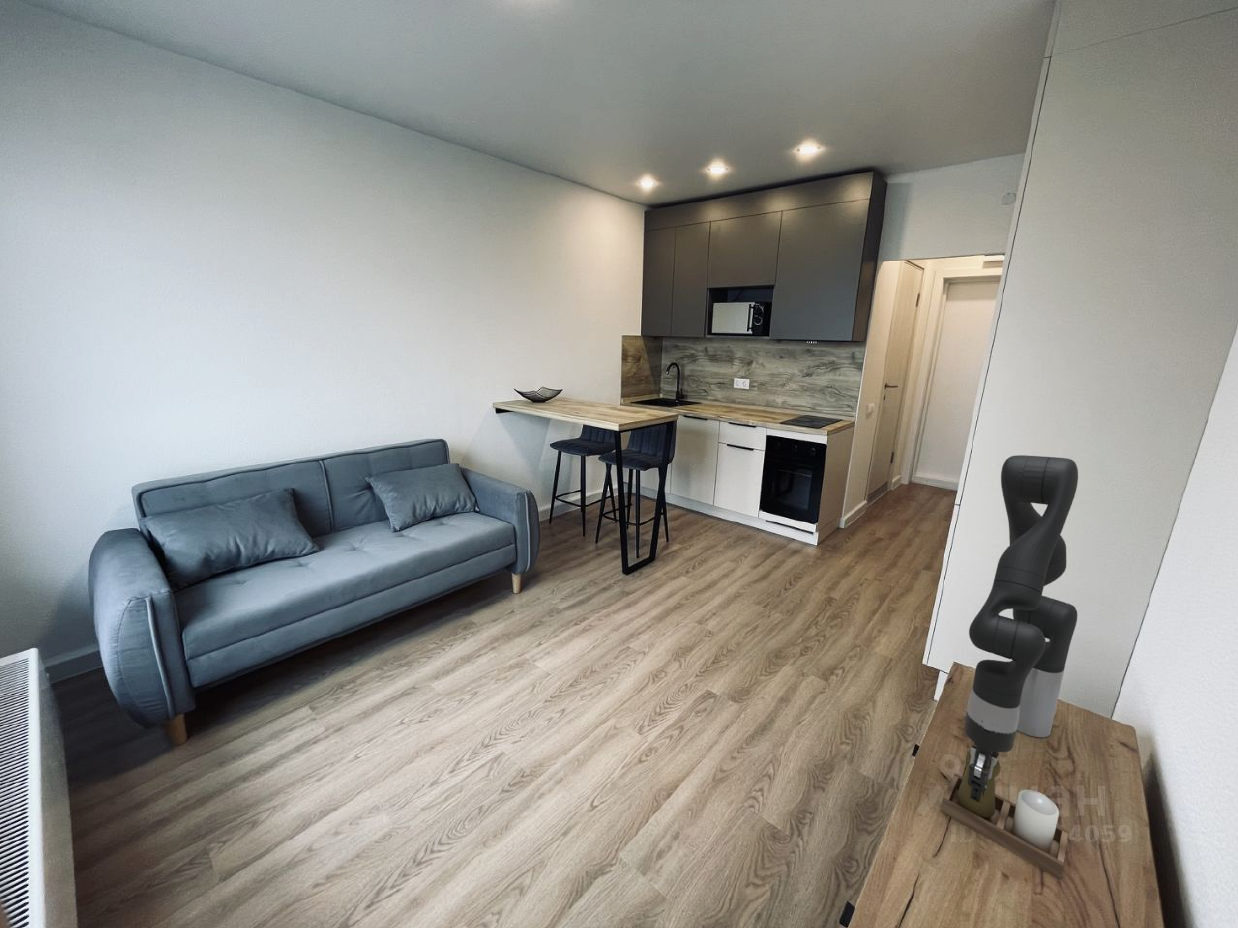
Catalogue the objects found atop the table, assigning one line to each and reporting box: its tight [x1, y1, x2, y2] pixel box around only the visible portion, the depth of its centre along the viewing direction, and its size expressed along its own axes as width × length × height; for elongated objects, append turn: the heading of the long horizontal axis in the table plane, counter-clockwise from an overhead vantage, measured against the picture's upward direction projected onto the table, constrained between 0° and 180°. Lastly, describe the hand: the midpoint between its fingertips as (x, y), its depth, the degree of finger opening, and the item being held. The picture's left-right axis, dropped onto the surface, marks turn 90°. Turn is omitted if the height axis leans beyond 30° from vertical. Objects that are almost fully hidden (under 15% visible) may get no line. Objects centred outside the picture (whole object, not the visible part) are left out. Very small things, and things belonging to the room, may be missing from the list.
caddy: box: [940, 773, 1069, 880], centre depth 92 cm, size 9×18×4 cm, turn 44°
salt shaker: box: [1011, 789, 1060, 855], centre depth 88 cm, size 6×6×10 cm
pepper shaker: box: [957, 749, 1001, 817], centre depth 94 cm, size 6×6×11 cm
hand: (977, 793), depth 95 cm, fingers closed on pepper shaker, 3 cm apart
